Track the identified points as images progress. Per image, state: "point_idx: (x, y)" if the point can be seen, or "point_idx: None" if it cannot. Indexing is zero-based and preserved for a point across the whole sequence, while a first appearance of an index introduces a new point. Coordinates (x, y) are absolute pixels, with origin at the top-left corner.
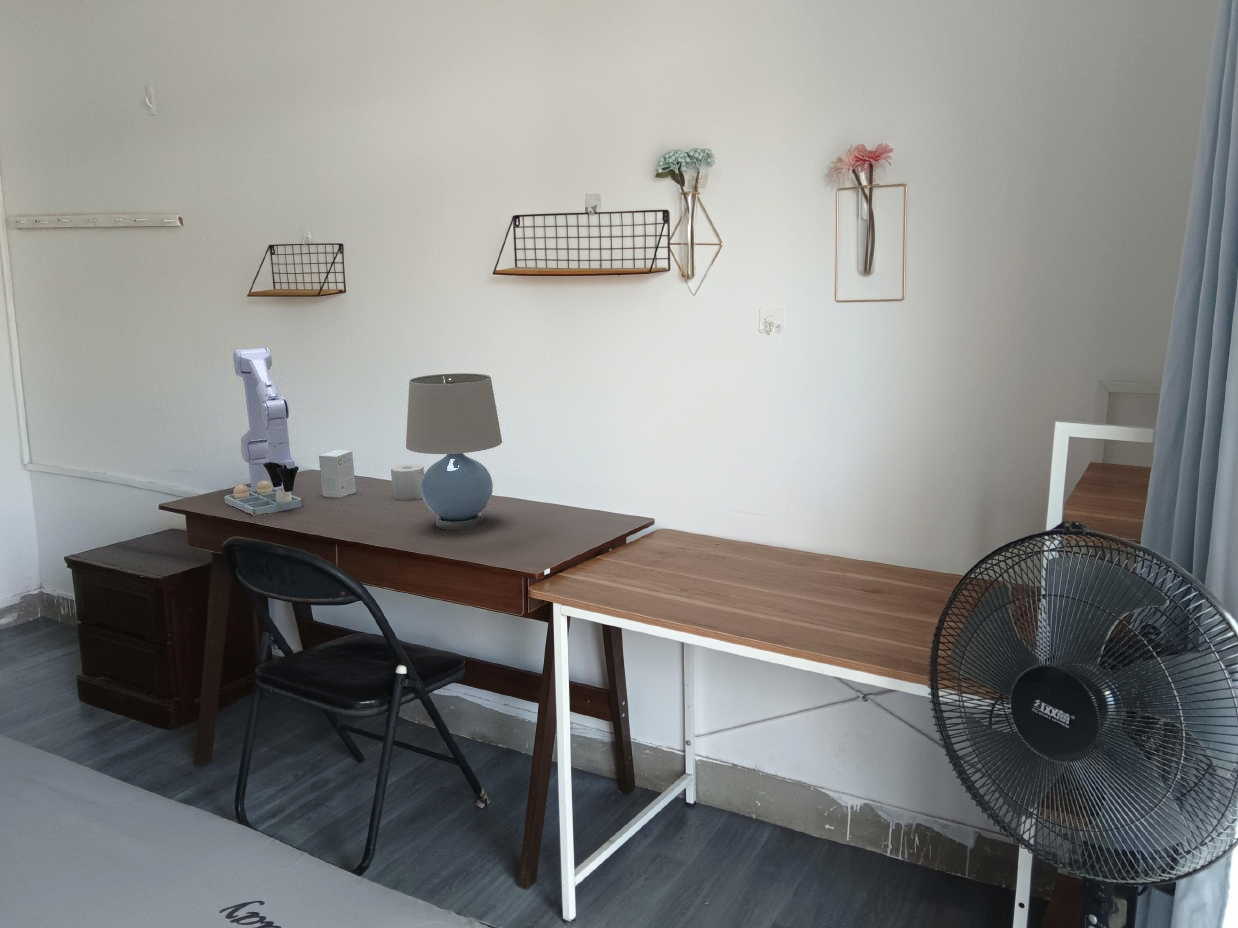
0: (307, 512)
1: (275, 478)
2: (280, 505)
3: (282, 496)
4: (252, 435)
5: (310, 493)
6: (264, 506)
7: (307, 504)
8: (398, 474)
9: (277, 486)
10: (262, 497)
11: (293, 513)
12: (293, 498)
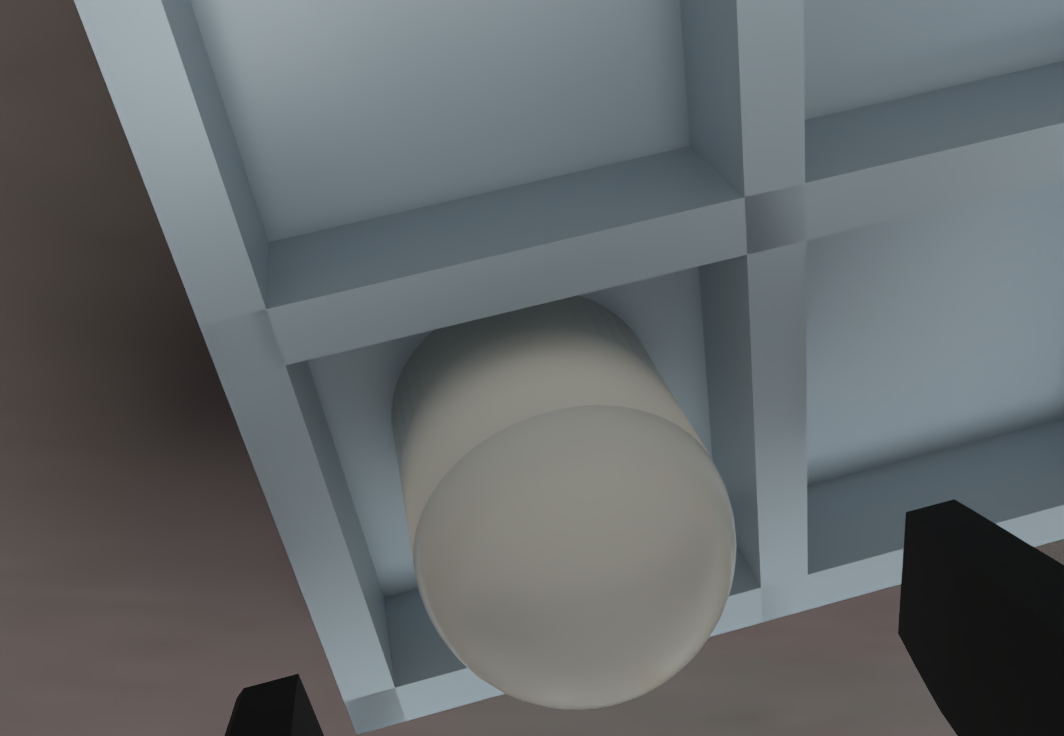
0: (11, 645)
1: (1051, 719)
2: (227, 374)
3: (426, 527)
4: None
5: None
6: (161, 35)
7: None
8: None
9: (906, 575)
10: (1040, 157)
11: (52, 468)
12: None
